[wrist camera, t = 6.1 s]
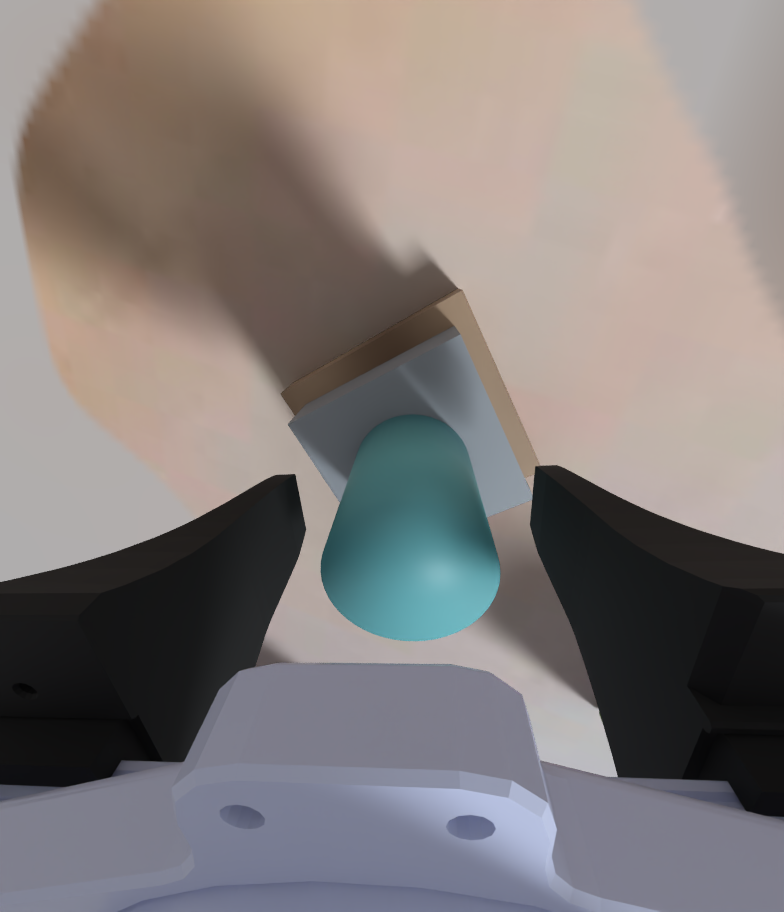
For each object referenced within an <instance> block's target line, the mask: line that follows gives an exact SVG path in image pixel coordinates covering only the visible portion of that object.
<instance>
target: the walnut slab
mask: <svg viewBox="0 0 784 912" xmlns="http://www.w3.org/2000/svg"><path fill="white" fill-rule="evenodd" d="M453 326H455V327H456V329H457V330H458V331H459V333H460V334H461V336H462V339H463V341H464V343H465V345H466V348H467V350H468V352H469V354H470V357H471V359H472V361H473V363H474V366H475V368H476V370H477V372H478V375H479V377H480V379H481V381H482V383H483V386H484V388H485V390H486V392H487V395H488V397H489V399H490V401H491V404H492V406H493V408H494V410H495V413H496V415H497V417H498V419H499V422H500V424H501V426H502V428H503V431H504V433H505V435H506V437H507V439H508V442H509V444H510V446H511V448H512V451H513V453H514V455H515V457H516V460H517V462H518V464H519V466H520V469H521V471H522V473H523V475H524V478H526V477H529V476H531V475H534V474H535V466H540V463H539V461H538V459H537V457H536V454H535V452H534V450H533V448H532V445H531V443H530V441H529V439H528V436H527V434H526V432H525V430H524V427H523V425H522V423H521V421H520V418H519V416H518V414H517V412H516V409H515V407H514V405H513V403H512V400H511V398H510V396H509V394H508V391H507V389H506V387H505V385H504V382H503V380H502V378H501V376H500V373H499V371H498V369H497V367H496V364H495V362H494V360H493V358H492V355H491V353H490V351H489V349H488V346H487V344H486V342H485V340H484V337H483V335H482V333H481V331H480V328H479V326H478V324H477V322H476V319H475V317H474V315H473V312H472V310H471V308H470V306H469V303H468V301H467V299H466V297H465V294H464V292H463V290H461V289H456V290H455V291H453V292H451V293H449V294H448V295H446V296H444V297H442V298H441V299H439V300H437V301H435V302H434V303H432V304H430V305H428V306H427V307H425V308H423V309H421V310H420V311H418V312H416V313H414V314H413V315H411V316H409V317H407V318H406V319H404V320H402V321H401V322H399V323H397V324H395V325H394V326H392V327H390V328H388V329H387V330H385V331H383V332H381V333H380V334H378V335H376V336H374V337H373V338H371V339H369V340H367V341H366V342H364V343H362V344H360V345H359V346H357V347H355V348H353V349H352V350H350V351H348V352H346V353H345V354H343V355H341V356H339V357H338V358H336V359H334V360H332V361H331V362H329V363H327V364H325V365H324V366H322V367H320V368H318V369H317V370H315V371H313V372H311V373H310V374H308V375H306V376H304V377H303V378H301V379H299V380H298V381H296V382H294V383H293V384H291V385H290V386H289V387H288V388H287V389H286V390H284V391H283V392H282V393H281V395H282V397H283V398H284V400H285V401H286V403H287V404H288V406H289V407H290V409H291V410H292V412H293V413H294V415H295V416H296V415H297V413H298V412H299V411H300V410H301V409H302V408H303V407H304V406H305V405H306V404H307V403H309V402H311V401H313V400H315V399H317V398H319V397H321V396H322V395H324V394H326V393H328V392H330V391H332V390H334V389H336V388H338V387H339V386H341V385H343V384H345V383H347V382H349V381H351V380H353V379H355V378H356V377H358V376H360V375H362V374H364V373H366V372H368V371H370V370H372V369H373V368H375V367H377V366H379V365H381V364H383V363H385V362H387V361H389V360H390V359H392V358H394V357H396V356H398V355H400V354H402V353H404V352H406V351H407V350H409V349H411V348H413V347H415V346H417V345H419V344H421V343H423V342H424V341H426V340H428V339H430V338H432V337H434V336H436V335H438V334H440V333H441V332H443V331H445V330H447V329H449V328H451V327H453Z"/></svg>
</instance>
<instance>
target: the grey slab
mask: <svg viewBox="0 0 784 912" xmlns="http://www.w3.org/2000/svg"><path fill="white" fill-rule="evenodd" d="M412 414H416V415H424V416H428V417H432V418H435V419H437V420H440V421H441V422H443V423H445V424H447V425H448V426H449V427H451V428H452V429H453V430H454V431H455V432H456V433H457V434H458V435H459V436H460V438H461V439H462V440H463V442H464V444H465V446H466V448H467V451H468V454H469V457H470V461H471V464H472V468H473V471H474V475H475V478H476V482H477V485H478V489H479V492H480V496H481V499H482V503H483V506H484V510H485V513H486V517H489V516H492V515H494V514H497V513H500V512H502V511H505V510H507V509H510V508H512V507H515V506H518V505H520V504H523V503H525V502H528V501H530V500H532V497H533V496H532V493H531V491H530V489H529V487H528V484H527V482H526V480H525V478H524V475H523V473H522V471H521V469H520V466H519V464H518V462H517V460H516V457H515V455H514V453H513V451H512V448H511V446H510V444H509V442H508V439H507V437H506V435H505V433H504V431H503V428H502V426H501V424H500V422H499V419H498V417H497V415H496V413H495V410H494V408H493V406H492V404H491V401H490V399H489V397H488V395H487V392H486V390H485V388H484V386H483V383H482V381H481V379H480V377H479V375H478V372H477V370H476V368H475V366H474V363H473V361H472V359H471V357H470V354H469V352H468V350H467V348H466V345H465V343H464V341H463V339H462V336H461V334H460V333H459V331H458V330H457V329H456V327H455V326H453V327H451V328H449V329H447V330H445V331H443V332H441V333H440V334H438V335H436V336H434V337H432V338H430V339H428V340H426V341H424V342H423V343H421V344H419V345H417V346H415V347H413V348H411V349H409V350H407V351H406V352H404V353H402V354H400V355H398V356H396V357H394V358H392V359H390V360H389V361H387V362H385V363H383V364H381V365H379V366H377V367H375V368H373V369H372V370H370V371H368V372H366V373H364V374H362V375H360V376H358V377H356V378H355V379H353V380H351V381H349V382H347V383H345V384H343V385H341V386H339V387H338V388H336V389H334V390H332V391H330V392H328V393H326V394H324V395H322V396H321V397H319V398H317V399H315V400H313V401H311V402H309V403H307V404H306V405H305V406H304V407H303V408H302V409H301V410H300V411H299V412H298V413H297V415H296V416H295V417H294V418H293V419H292V420H291V421H290V422H289V424H288V426H289V427H290V429H291V430H292V432H293V433H294V435H295V436H296V438H297V439H298V441H299V442H300V444H301V445H302V447H303V448H304V450H305V451H306V453H307V454H308V456H309V457H310V459H311V460H312V462H313V463H314V465H315V466H316V468H317V469H318V471H319V472H320V474H321V475H322V477H323V478H324V480H325V481H326V483H327V484H328V486H329V487H330V489H331V490H332V492H333V493H334V495H335V496H336V498H337V499H338V501H339V502H341V499H342V496H343V493H344V490H345V487H346V484H347V481H348V478H349V476H350V473H351V470H352V467H353V464H354V461H355V458H356V455H357V452H358V450H359V447H360V445H361V443H362V441H363V440H364V438H365V437H366V436H367V434H368V433H369V432H370V431H371V430H372V429H373V428H375V427H376V426H377V425H378V424H380V423H382V422H384V421H385V420H388V419H390V418H393V417H397V416H401V415H412Z"/></svg>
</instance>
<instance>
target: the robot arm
mask: <svg viewBox="0 0 784 912" xmlns="http://www.w3.org/2000/svg"><path fill="white" fill-rule="evenodd" d="M530 527H531V530H532V534H533V537H534V541H535V544H536V547H537V551H538V554H539V556H540V558H541V561H542V563H543V565H544V567H545V569H546V572H547V574H548V576H549V578H550V580H551V582H552V585H553V587H554V589H555V591H556V593H557V595H558V597H559V600H560V602H561V604H562V606H563V608H564V610H565V613H566V615H567V617H568V619H569V622H570V624H571V626H572V629H573V631H574V634H575V637H576V640H577V643H578V646H579V649H580V652H581V655H582V658H583V661H584V664H585V666H586V670H587V673H588V676H589V679H590V682H591V685H592V689H593V692H594V695H595V698H596V701H597V705H598V708H599V711H600V715H601V718H602V722H603V725H604V729H605V732H606V735H607V739H608V742H609V746H610V749H611V753H612V756H613V760H614V764H615V767H616V771H617V775H618V777H605V776H601V775H597V774H593V773H589V772H585V771H581V770H577V769H573V768H569V767H565V766H561V765H557V764H553V763H549V762H544V761H540V759H539V755H538V751H537V747H536V742H535V738H534V734H533V730H532V726H531V722H530V719H529V715H528V712H527V709H526V706H525V703H524V700H523V696H522V694H521V693H519V692H518V691H516V690H515V689H513V688H512V687H511V686H509V685H508V684H506V683H505V682H503V681H502V680H501V679H499V678H498V677H496V676H495V675H493V674H492V673H490V672H488V671H483V670H478V669H473V668H467V667H462V666H457V665H452V664H376V663H274V664H269V665H264V666H258V667H255V665H256V662H257V659H258V656H259V653H260V650H261V647H262V643H263V640H264V637H265V634H266V631H267V629H268V626H269V624H270V621H271V618H272V616H273V614H274V612H275V609H276V607H277V605H278V603H279V601H280V598H281V596H282V594H283V592H284V589H285V587H286V585H287V583H288V580H289V578H290V576H291V574H292V571H293V569H294V567H295V564H296V562H297V560H298V557H299V554H300V550H301V547H302V543H303V540H304V536H305V532H306V527H305V522H304V517H303V512H302V506H301V501H300V496H299V491H298V486H297V481H296V476H295V474H288V475H275V476H272V477H270V478H268V479H266V480H264V481H262V482H261V483H259V484H257V485H255V486H254V487H252V488H250V489H248V490H247V491H245V492H243V493H242V494H240V495H238V496H237V497H235V498H233V499H231V500H230V501H228V502H226V503H225V504H223V505H221V506H219V507H217V508H215V509H213V510H212V511H210V512H208V513H206V514H204V515H202V516H201V517H199V518H197V519H195V520H193V521H191V522H189V523H187V524H185V525H182V526H180V527H178V528H176V529H174V530H171V531H169V532H167V533H164V534H162V535H160V536H157V537H155V538H152V539H150V540H147V541H144V542H142V543H139V544H136V545H134V546H131V547H128V548H125V549H123V550H120V551H117V552H114V553H111V554H108V555H105V556H101V557H98V558H95V559H92V560H88V561H85V562H82V563H78V564H75V565H71V566H67V567H63V568H59V569H56V570H52V571H47V572H43V573H39V574H34V575H30V576H26V577H21V578H17V579H13V580H8V581H4V582H0V912H784V554H782V553H778V552H773V551H769V550H765V549H761V548H757V547H753V546H750V545H746V544H742V543H739V542H735V541H732V540H729V539H725V538H722V537H719V536H716V535H712V534H709V533H706V532H703V531H700V530H697V529H694V528H691V527H688V526H685V525H683V524H680V523H677V522H675V521H672V520H670V519H667V518H664V517H662V516H659V515H657V514H654V513H652V512H650V511H647V510H645V509H643V508H641V507H639V506H637V505H634V504H632V503H630V502H628V501H626V500H624V499H622V498H620V497H618V496H616V495H614V494H612V493H610V492H608V491H606V490H604V489H602V488H600V487H598V486H597V485H595V484H593V483H591V482H589V481H587V480H586V479H584V478H582V477H580V476H578V475H576V474H575V473H573V472H571V471H569V470H567V469H565V468H562V467H560V466H557V465H552V466H535V475H534V486H533V497H532V509H531V520H530Z"/></svg>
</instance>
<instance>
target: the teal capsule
mask: <svg viewBox="0 0 784 912" xmlns="http://www.w3.org/2000/svg"><path fill="white" fill-rule="evenodd" d="M321 577H322V582H323V585H324V589H325V591H326V593H327V595H328V597H329V599H330V600H331V602H332V603H333V605H334V606H335V607H336V608H337V610H338V611H339V612H340V613H341V614H342V615H343V616H345V617H346V618H347V619H348V620H349V621H351V622H352V623H354V624H355V625H357V626H358V627H360V628H362V629H364V630H366V631H368V632H370V633H373V634H375V635H379V636H382V637H385V638H390V639H394V640H402V641H425V640H432V639H438V638H441V637H445V636H448V635H451V634H454V633H456V632H458V631H460V630H462V629H464V628H466V627H468V626H469V625H471V624H472V623H474V622H475V621H476V620H477V619H478V618H479V617H481V616H482V615H483V614H484V612H485V611H486V610H487V609H488V608H489V606H490V605H491V603H492V602H493V600H494V598H495V595H496V593H497V590H498V587H499V583H500V563H499V559H498V555H497V552H496V548H495V545H494V541H493V538H492V534H491V531H490V527H489V524H488V520H487V517H486V513H485V510H484V506H483V503H482V499H481V496H480V492H479V489H478V485H477V482H476V478H475V475H474V471H473V468H472V464H471V461H470V457H469V454H468V451H467V448H466V446H465V444H464V442H463V440H462V439H461V438H460V436H459V435H458V434H457V433H456V432H455V431H454V430H453V429H452V428H451V427H449V426H448V425H447V424H445V423H443V422H441V421H440V420H437V419H435V418H432V417H428V416H424V415H416V414H412V415H401V416H397V417H393V418H390V419H388V420H385V421H384V422H382V423H380V424H378V425H377V426H376V427H375V428H373V429H372V430H371V431H370V432H369V433H368V434H367V436H366V437H365V438H364V440H363V441H362V443H361V445H360V447H359V450H358V452H357V455H356V458H355V461H354V464H353V467H352V470H351V473H350V476H349V478H348V481H347V484H346V487H345V490H344V493H343V496H342V499H341V502H340V505H339V507H338V510H337V513H336V516H335V519H334V522H333V525H332V528H331V531H330V533H329V536H328V539H327V542H326V545H325V548H324V551H323V554H322V559H321Z"/></svg>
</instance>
